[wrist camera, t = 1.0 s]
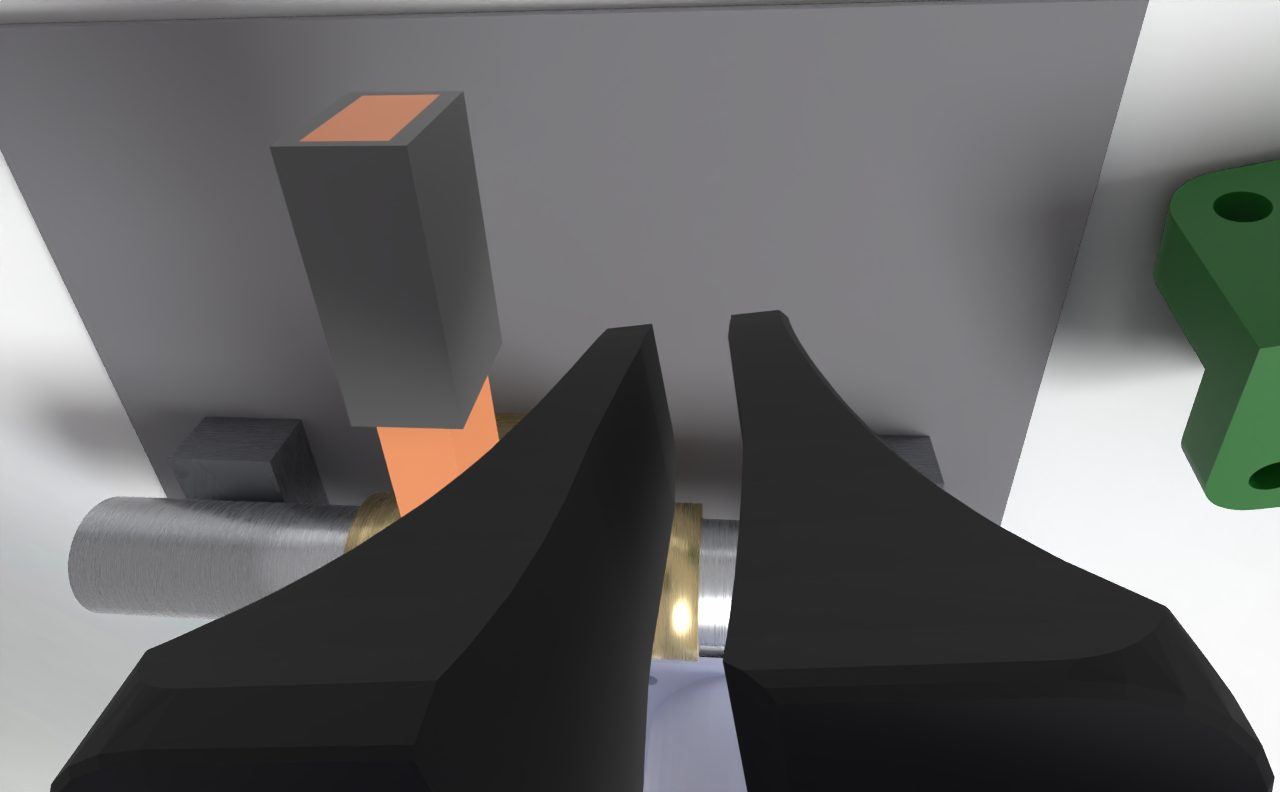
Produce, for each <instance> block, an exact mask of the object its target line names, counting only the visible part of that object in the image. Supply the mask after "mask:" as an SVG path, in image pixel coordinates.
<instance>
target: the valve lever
mask: <svg viewBox="0 0 1280 792" xmlns="http://www.w3.org/2000/svg"><path fill="white" fill-rule="evenodd" d="M269 147H270V151H271V154H272V158H273V161H274V164H275V168H276V171H277V175H278V178H279V182H280V185H281V188H282V192H283V195H284V199H285V202H286V205H287V209H288V212H289V216H290V219H291V222H292V226H293V229H294V233H295V236H296V239H297V243H298V246H299V250H300V253H301V256H302V260H303V263H304V267H305V270H306V273H307V277H308V280H309V284H310V287H311V290H312V294H313V297H314V301H315V304H316V307H317V311H318V314H319V318H320V321H321V324H322V328H323V331H324V335H325V338H326V341H327V345H328V348H329V352H330V355H331V359H332V362H333V365H334V369H335V372H336V376H337V379H338V382H339V386H340V389H341V393H342V396H343V399H344V403H345V406H346V410H347V413H348V416H349V420H350V423H351V426H363V427H377V431H378V434H379V438H380V442H381V445H382V449H383V453H384V456H385V460H386V464H387V467H388V471H389V475H390V478H391V482H392V486H393V489H394V493H395V497H396V500H397V504H398V508H399V511H400V515H401V517H403V516H404V515H406V514H407V513H409V512H410V511H412V510H413V509H415V508H416V507H418V506H419V505H421V504H422V503H424V502H425V501H426V500H428V499H429V498H430V497H432V496H433V495H435V494H436V493H437V492H438V491H440V490H441V489H442V488H444V487H445V486H446V485H447V484H449V483H450V482H451V481H453V480H454V479H455V478H457V477H458V476H459V475H460V474H462V473H463V472H464V471H465V470H467V469H468V468H469V467H470V466H471V465H473V464H474V463H475V462H476V461H477V460H479V459H480V458H481V457H482V456H483V455H484V454H486V453H487V452H488V451H489V450H490V449H491V448H492V447H493V446H494V445H495V444H496V443H498V442H499V437H498V431H497V425H496V420H495V414H494V408H493V402H492V396H491V390H490V384H489V378H488V374H489V371H490V369H491V367H492V365H493V363H494V360H495V358H496V356H497V354H498V352H499V349H500V347H501V345H502V337H501V330H500V324H499V317H498V311H497V304H496V298H495V291H494V285H493V278H492V272H491V266H490V259H489V253H488V246H487V240H486V233H485V227H484V220H483V214H482V207H481V201H480V194H479V188H478V181H477V175H476V168H475V162H474V155H473V149H472V142H471V136H470V129H469V123H468V116H467V110H466V103H465V97H464V91H411V92H349V93H347V94H346V95H344V96H343V97H341V98H340V99H338V100H337V101H335V102H334V103H332V104H331V105H329V106H328V107H327V108H325V109H324V110H322V111H321V112H319V113H318V114H316V115H315V116H313V117H312V118H310V119H309V120H307V121H306V122H305V123H303V124H302V125H300V126H299V127H297V128H296V129H294V130H293V131H291V132H290V133H288V134H287V135H286V136H284V137H283V138H281V139H280V140H278V141H277V142H275V143H274V144H272V145H271V146H269Z"/></svg>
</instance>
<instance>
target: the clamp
mask: <svg viewBox="0 0 1280 792" xmlns="http://www.w3.org/2000/svg"><path fill="white" fill-rule="evenodd" d="M1154 280H1155V284H1156V286H1157V288H1158V289H1159V291H1160V293H1161V294H1162V296H1163V298H1164V299H1165V301H1166V303H1167V305H1168V306H1169V308H1170V310H1171V311H1172V313H1173V315H1174V317H1175V318H1176V320H1177V322H1178V323H1179V325H1180V327H1181V328H1182V330H1183V332H1184V334H1185V335H1186V337H1187V339H1188V340H1189V342H1190V344H1191V346H1192V347H1193V349H1194V351H1195V352H1196V354H1197V356H1198V357H1199V359H1200V361H1201V363H1202V364H1203V366H1204V368H1205V371H1204V374H1203V377H1202V380H1201V383H1200V386H1199V389H1198V392H1197V395H1196V398H1195V401H1194V404H1193V407H1192V410H1191V413H1190V416H1189V419H1188V422H1187V425H1186V428H1185V431H1184V434H1183V437H1182V441H1181V446H1182V450H1183V452H1184V454H1185V456H1186V458H1187V460H1188V461H1189V463H1190V465H1191V467H1192V469H1193V471H1194V473H1195V475H1196V477H1197V479H1198V481H1199V483H1200V485H1201V487H1202V489H1203V491H1204V493H1205V495H1206V496H1207V498H1208V499H1209V500H1210V501H1211V502H1212V503H1213V504H1215V505H1217V506H1220V507H1223V508H1227V509H1234V510H1254V509H1264V508H1273V507H1280V159H1279V160H1274V161H1269V162H1264V163H1258V164H1253V165H1248V166H1243V167H1237V168H1232V169H1227V170H1222V171H1216V172H1212V173H1208V174H1204V175H1201V176H1198V177H1196V178H1194V179H1191V180H1190V181H1188V182H1186V183H1185V184H1183V185H1182V186H1181V187H1179V188H1178V189H1177V190H1176V192H1175V193H1174V194H1173V196H1172V198H1171V201H1170V206H1169V210H1168V214H1167V218H1166V222H1165V227H1164V231H1163V235H1162V239H1161V243H1160V248H1159V252H1158V256H1157V260H1156V264H1155V268H1154Z"/></svg>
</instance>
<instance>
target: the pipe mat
mask: <svg viewBox="0 0 1280 792" xmlns="http://www.w3.org/2000/svg"><path fill="white" fill-rule="evenodd" d="M1148 3H1149V0H954V1H914V2H874V3H833V4H793V5H753V6H712V7H672V8H632V9H591V10H551V11H511V12H470V13H430V14H390V15H349V16H309V17H269V18H228V19H188V20H148V21H107V22H67V23H27V24H0V150H1V152H2V154H3V156H4V158H5V160H6V162H7V164H8V166H9V168H10V170H11V172H12V175H13V177H14V179H15V181H16V183H17V185H18V187H19V189H20V191H21V193H22V195H23V197H24V200H25V202H26V204H27V206H28V208H29V210H30V212H31V214H32V216H33V218H34V220H35V222H36V225H37V227H38V229H39V231H40V233H41V235H42V237H43V239H44V241H45V243H46V245H47V248H48V250H49V252H50V254H51V256H52V258H53V260H54V262H55V264H56V266H57V268H58V270H59V273H60V275H61V277H62V279H63V281H64V283H65V285H66V287H67V289H68V291H69V293H70V295H71V298H72V300H73V302H74V304H75V306H76V308H77V310H78V312H79V314H80V316H81V318H82V320H83V323H84V325H85V327H86V329H87V331H88V333H89V335H90V337H91V339H92V341H93V343H94V345H95V348H96V350H97V352H98V354H99V356H100V358H101V360H102V362H103V364H104V366H105V368H106V370H107V373H108V375H109V377H110V379H111V381H112V383H113V385H114V387H115V389H116V391H117V393H118V396H119V398H120V400H121V402H122V404H123V406H124V408H125V410H126V412H127V414H128V416H129V418H130V421H131V423H132V425H133V427H134V429H135V431H136V433H137V435H138V437H139V439H140V441H141V443H142V446H143V448H144V450H145V452H146V454H147V456H148V458H149V460H150V462H151V464H152V466H153V468H154V471H155V473H156V475H157V477H158V479H159V481H160V483H161V485H162V487H163V489H164V491H165V493H166V496H167V498H171V499H186V497H185V495H184V493H183V491H182V489H181V486H180V484H179V482H178V480H177V478H176V476H175V473H174V471H173V469H172V467H171V465H170V463H169V460H168V457H169V456H170V455H171V454H172V453H173V452H174V451H175V450H176V449H177V447H178V446H179V445H180V444H181V443H182V442H183V441H184V440H185V439H186V437H187V436H188V435H189V434H190V433H191V432H192V431H193V430H194V429H195V427H196V426H197V425H198V424H199V423H200V422H201V421H202V420H203V419H204V417H205V416H208V417H245V418H282V419H301V420H302V423H303V426H304V429H305V432H306V435H307V438H308V441H309V444H310V447H311V450H312V453H313V456H314V459H315V462H316V465H317V468H318V471H319V474H320V477H321V480H322V483H323V486H324V489H325V492H326V495H327V498H328V501H329V504H330V505H355V506H361V504H362V503H363V502H364V501H365V499H367V498H368V497H369V496H370V495H371V494H373V493H376V492H394V489H393V486H392V482H391V478H390V475H389V471H388V467H387V464H386V460H385V456H384V453H383V449H382V445H381V442H380V438H379V434H378V431H377V427H363V426H351V423H350V420H349V416H348V413H347V410H346V406H345V403H344V399H343V396H342V393H341V389H340V386H339V382H338V379H337V376H336V372H335V369H334V365H333V362H332V359H331V355H330V352H329V348H328V345H327V341H326V338H325V335H324V331H323V328H322V324H321V321H320V318H319V314H318V311H317V307H316V304H315V301H314V297H313V294H312V290H311V287H310V284H309V280H308V277H307V273H306V270H305V267H304V263H303V260H302V256H301V253H300V250H299V246H298V243H297V239H296V236H295V233H294V229H293V226H292V222H291V219H290V216H289V212H288V209H287V205H286V202H285V199H284V195H283V192H282V188H281V185H280V182H279V178H278V175H277V171H276V168H275V164H274V161H273V158H272V154H271V151H270V147H269V146H271V145H272V144H274V143H275V142H277V141H278V140H280V139H281V138H283V137H284V136H286V135H287V134H288V133H290V132H291V131H293V130H294V129H296V128H297V127H299V126H300V125H302V124H303V123H305V122H306V121H307V120H309V119H310V118H312V117H313V116H315V115H316V114H318V113H319V112H321V111H322V110H324V109H325V108H327V107H328V106H329V105H331V104H332V103H334V102H335V101H337V100H338V99H340V98H341V97H343V96H344V95H346V94H347V93H349V92H411V91H464V97H465V103H466V110H467V116H468V123H469V129H470V136H471V142H472V149H473V155H474V162H475V168H476V175H477V181H478V188H479V194H480V201H481V207H482V214H483V220H484V227H485V233H486V240H487V246H488V253H489V259H490V266H491V272H492V278H493V285H494V291H495V298H496V304H497V311H498V317H499V324H500V330H501V337H502V345H501V347H500V349H499V352H498V354H497V356H496V358H495V360H494V363H493V365H492V367H491V369H490V371H489V374H488V378H489V384H490V390H491V396H492V402H493V408H494V413H513V414H528V413H529V412H530V411H531V410H532V409H533V408H534V407H535V406H536V405H537V404H538V403H539V402H540V401H541V400H542V399H543V398H544V397H545V396H546V394H547V393H548V392H549V391H550V390H551V389H552V388H553V387H554V386H555V385H556V384H557V383H558V382H559V381H560V379H561V378H562V377H563V376H564V375H565V374H566V373H567V372H568V371H569V370H570V369H571V367H572V366H573V365H574V364H575V363H576V362H577V361H578V360H579V359H580V357H581V356H582V355H583V354H584V353H585V352H586V351H587V350H588V348H589V347H590V346H591V345H592V344H593V343H594V342H595V341H596V340H597V338H598V337H599V336H600V335H601V334H602V333H603V332H604V331H605V330H606V329H608V328H617V327H626V326H635V325H644V324H652V325H653V330H654V336H655V341H656V346H657V351H658V356H659V361H660V367H661V372H662V377H663V382H664V387H665V392H666V397H667V403H668V408H669V413H670V418H671V423H672V428H673V433H674V439H675V444H676V483H675V502H678V503H703V519H723V520H739V518H740V502H741V485H742V460H743V443H742V435H741V428H740V421H739V414H738V406H737V399H736V392H735V385H734V377H733V370H732V363H731V356H730V348H729V341H728V332H729V324H730V319H731V315H736V314H745V313H754V312H763V311H772V310H780V311H781V312H783V313H784V314H785V315H786V316H788V317H789V321H790V324H791V326H792V328H793V330H794V332H795V334H796V336H797V338H798V339H799V341H800V343H801V344H802V346H803V348H804V349H805V351H806V352H807V354H808V355H809V357H810V358H811V360H812V361H813V362H814V364H815V365H816V367H817V368H818V369H819V371H820V372H821V373H822V374H823V376H824V377H825V378H826V379H827V381H828V382H829V383H830V384H831V386H832V387H833V388H834V389H835V391H836V392H837V393H838V394H839V395H840V397H841V398H842V399H843V400H844V401H845V402H846V403H847V405H848V406H849V407H850V408H851V409H852V410H853V411H854V412H855V413H856V414H857V415H858V416H859V417H860V418H861V419H862V420H863V422H864V423H865V424H866V425H867V426H868V427H869V428H870V429H871V430H872V431H873V432H874V433H875V434H876V435H909V436H930V439H931V442H932V445H933V449H934V452H935V455H936V458H937V461H938V464H939V468H940V471H941V474H942V477H943V480H944V483H945V485H944V489H943V490H944V491H946V492H947V493H949V494H950V495H952V496H953V497H955V498H956V499H958V500H960V501H961V502H963V503H964V504H966V505H967V506H969V507H970V508H972V509H973V510H975V511H976V512H978V513H979V514H981V515H982V516H984V517H985V518H987V519H989V520H990V521H992V522H994V523H995V524H997V525H999V526H1000V525H1001V521H1002V518H1003V514H1004V511H1005V507H1006V504H1007V500H1008V497H1009V493H1010V490H1011V486H1012V483H1013V479H1014V476H1015V472H1016V469H1017V465H1018V461H1019V458H1020V454H1021V451H1022V447H1023V444H1024V440H1025V437H1026V433H1027V430H1028V426H1029V423H1030V419H1031V416H1032V412H1033V408H1034V405H1035V401H1036V398H1037V394H1038V391H1039V387H1040V384H1041V380H1042V377H1043V373H1044V370H1045V366H1046V363H1047V359H1048V356H1049V352H1050V348H1051V345H1052V341H1053V338H1054V334H1055V331H1056V327H1057V324H1058V320H1059V317H1060V313H1061V310H1062V306H1063V303H1064V299H1065V296H1066V292H1067V288H1068V285H1069V281H1070V278H1071V274H1072V271H1073V267H1074V264H1075V260H1076V257H1077V253H1078V250H1079V246H1080V243H1081V239H1082V236H1083V232H1084V228H1085V225H1086V221H1087V218H1088V214H1089V211H1090V207H1091V204H1092V200H1093V197H1094V193H1095V190H1096V186H1097V183H1098V179H1099V176H1100V172H1101V168H1102V165H1103V161H1104V158H1105V154H1106V151H1107V147H1108V144H1109V140H1110V137H1111V133H1112V130H1113V126H1114V123H1115V119H1116V115H1117V112H1118V108H1119V105H1120V101H1121V98H1122V94H1123V91H1124V87H1125V84H1126V80H1127V77H1128V73H1129V70H1130V66H1131V63H1132V59H1133V55H1134V52H1135V48H1136V45H1137V41H1138V38H1139V34H1140V31H1141V27H1142V24H1143V20H1144V17H1145V13H1146V10H1147V6H1148Z"/></svg>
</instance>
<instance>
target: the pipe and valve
mask: <svg viewBox="0 0 1280 792" xmlns="http://www.w3.org/2000/svg"><path fill="white" fill-rule="evenodd" d="M494 414H495V420H496V425H497V431H498V437H499V441H500V440H501V439H502V438H503V437H504V436H505V435H506V434H507V433H508V432H509V431H510V430H511V429H512V428H513V427H514V426H515V425H516V424H517V423H518V422H519V421H521V420H522V419H523V418H524V417H525V416H526V415H527V414H513V413H494ZM877 436H879V437H880V438H881V439H882V440H883V441H884V442H885V443H886V444H887V445H888V446H889V447H890V448H891V449H893V450H894V451H895V452H896V453H897V454H898V455H900V456H901V457H902V458H903V459H904V460H906V461H907V462H908V463H909V464H910V465H911V466H913V467H914V468H915V469H916V470H918V471H919V472H920V473H922V474H923V475H924V476H925V477H927V478H928V479H929V480H931V481H932V482H933V483H935V484H936V485H937V486H938V487H940V488H941V489H944V485H945V483H944V480H943V477H942V474H941V471H940V468H939V464H938V461H937V458H936V455H935V452H934V449H933V445H932V442H931V439H930V436H909V435H877ZM168 460H169V463H170V465H171V467H172V469H173V471H174V473H175V476H176V478H177V480H178V482H179V484H180V486H181V489H182V491H183V493H184V495H185V497H186V499H171V498H145V497H112V498H109V499H106V500H104V501H102V502H101V503H99V504H98V505H96V506H95V507H94V508H93V509H92V510H91V511H90V512H89V513H88V514H87V515H86V516H85V518H84V519H83V521H82V522H81V524H80V526H79V527H78V529H77V531H76V534H75V536H74V538H73V542H72V545H71V549H70V553H69V561H68V573H69V581H70V585H71V588H72V591H73V593H74V595H75V597H76V599H77V600H78V601H79V603H80V604H81V605H82V606H83V607H85V608H86V609H88V610H90V611H92V612H96V613H108V614H126V615H145V616H164V617H183V618H201V619H219V618H221V617H223V616H225V615H227V614H230V613H232V612H234V611H236V610H238V609H241V608H243V607H245V606H247V605H249V604H251V603H253V602H255V601H257V600H259V599H261V598H264V597H266V596H268V595H270V594H272V593H274V592H276V591H278V590H279V589H281V588H283V587H285V586H287V585H289V584H291V583H293V582H294V581H296V580H298V579H300V578H302V577H304V576H306V575H308V574H309V573H311V572H313V571H315V570H317V569H319V568H320V567H322V566H324V565H326V564H327V563H329V562H331V561H333V560H334V559H336V558H338V557H340V556H341V555H343V554H345V553H347V552H348V551H350V550H352V549H353V548H355V547H357V546H358V545H360V544H362V543H363V542H365V541H366V540H368V539H369V538H371V537H372V536H374V535H375V534H377V533H378V532H380V531H381V530H383V529H384V528H386V527H387V526H389V525H390V524H392V523H393V522H395V521H397V520H398V519H400V518H401V515H400V511H399V508H398V504H397V500H396V497H395V493H394V492H376V493H373V494H371V495H370V496H369V497H368V498H367V499H365V501H364V502H363V503H362V504H361V506H355V505H330V504H329V501H328V498H327V495H326V492H325V489H324V486H323V483H322V480H321V477H320V474H319V471H318V468H317V465H316V462H315V459H314V456H313V453H312V450H311V447H310V444H309V441H308V438H307V435H306V432H305V429H304V426H303V423H302V420H301V419H282V418H245V417H208V416H205V417H204V419H203V420H202V421H201V422H200V423H199V424H198V425H197V426H196V427H195V429H194V430H193V431H192V432H191V433H190V434H189V435H188V436H187V437H186V439H185V440H184V441H183V442H182V443H181V444H180V445H179V446H178V447H177V449H176V450H175V451H174V452H173V453H172V454H171V455H170V456H169V457H168ZM738 532H739V520H723V519H703V503H678V502H675V510H674V517H673V524H672V531H671V537H670V543H669V550H668V556H667V563H666V569H665V575H664V581H663V587H662V594H661V600H660V606H659V612H658V618H657V625H656V631H655V637H654V643H653V649H652V658H651V659H659V660H677V661H695V662H698V660H699V648H700V645H705V646H724V647H725V644H726V638H727V630H728V622H729V615H730V607H731V600H732V592H733V585H734V576H735V565H736V554H737V543H738Z"/></svg>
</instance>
